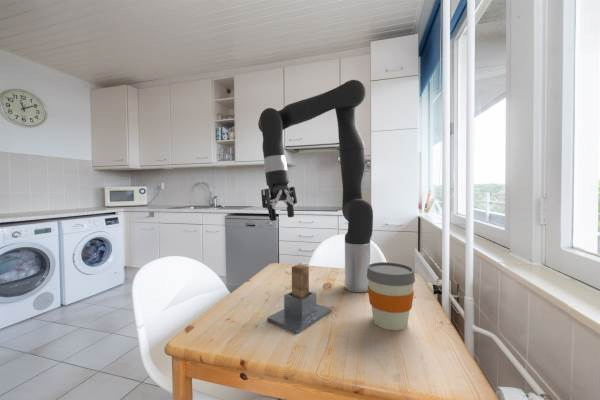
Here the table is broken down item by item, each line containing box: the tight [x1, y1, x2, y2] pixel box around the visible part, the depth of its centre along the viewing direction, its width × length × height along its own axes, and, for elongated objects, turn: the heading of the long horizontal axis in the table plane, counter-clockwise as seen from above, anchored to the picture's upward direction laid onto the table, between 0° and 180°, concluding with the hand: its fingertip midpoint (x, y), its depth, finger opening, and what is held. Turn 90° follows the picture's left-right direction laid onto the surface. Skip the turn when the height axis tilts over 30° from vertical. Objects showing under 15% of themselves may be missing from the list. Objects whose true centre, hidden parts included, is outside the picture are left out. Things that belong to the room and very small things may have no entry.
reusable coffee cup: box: [367, 261, 416, 331], centre depth 73 cm, size 12×13×15 cm
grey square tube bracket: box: [266, 290, 333, 335], centre depth 77 cm, size 16×11×6 cm
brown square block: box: [291, 263, 310, 299], centre depth 77 cm, size 4×4×12 cm
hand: (282, 218), depth 89 cm, fingers open, 8 cm apart
